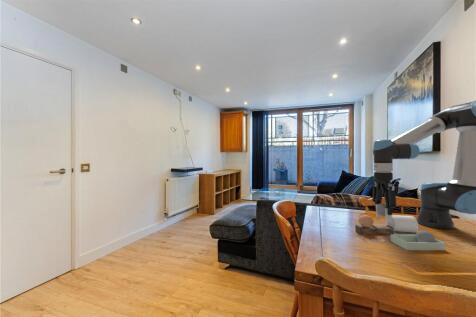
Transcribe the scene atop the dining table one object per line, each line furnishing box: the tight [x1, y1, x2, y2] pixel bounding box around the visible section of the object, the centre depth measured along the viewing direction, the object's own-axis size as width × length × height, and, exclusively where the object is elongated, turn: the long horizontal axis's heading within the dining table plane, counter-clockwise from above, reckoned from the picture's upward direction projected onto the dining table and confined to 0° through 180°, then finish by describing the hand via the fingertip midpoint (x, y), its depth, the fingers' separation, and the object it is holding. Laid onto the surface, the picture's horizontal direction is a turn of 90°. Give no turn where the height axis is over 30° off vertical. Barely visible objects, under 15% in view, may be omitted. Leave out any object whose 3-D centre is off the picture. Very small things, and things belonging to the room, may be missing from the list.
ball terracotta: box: [358, 214, 374, 228], centre depth 102 cm, size 6×6×6 cm
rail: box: [354, 224, 395, 235], centre depth 102 cm, size 16×4×4 cm, turn 89°
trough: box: [390, 233, 446, 251], centre depth 87 cm, size 15×9×4 cm, turn 90°
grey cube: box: [375, 202, 386, 217], centre depth 102 cm, size 6×6×6 cm
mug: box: [386, 214, 419, 234], centre depth 107 cm, size 12×10×8 cm
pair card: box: [366, 238, 388, 245], centre depth 92 cm, size 8×6×1 cm
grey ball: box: [415, 230, 436, 242], centre depth 87 cm, size 6×6×6 cm
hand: (383, 219), depth 102 cm, fingers closed on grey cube, 6 cm apart
